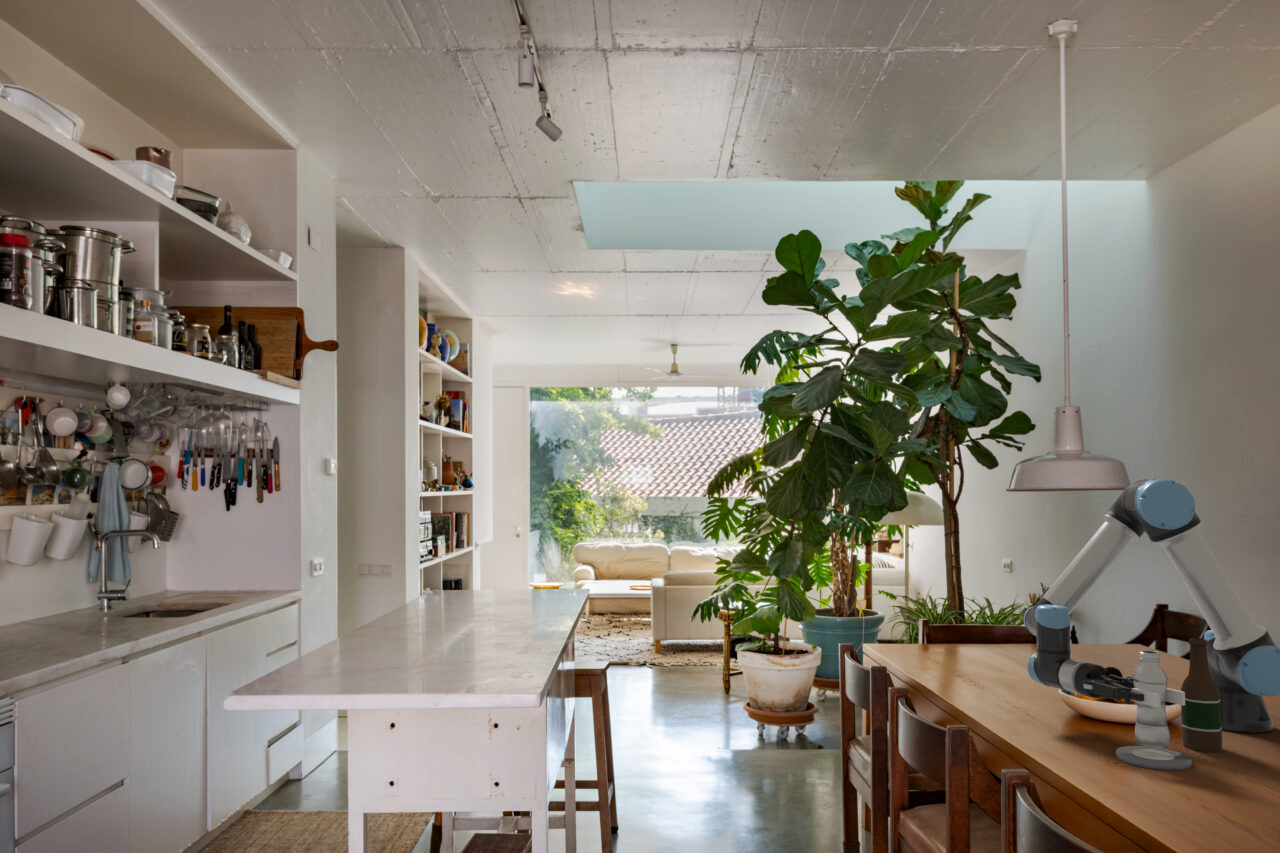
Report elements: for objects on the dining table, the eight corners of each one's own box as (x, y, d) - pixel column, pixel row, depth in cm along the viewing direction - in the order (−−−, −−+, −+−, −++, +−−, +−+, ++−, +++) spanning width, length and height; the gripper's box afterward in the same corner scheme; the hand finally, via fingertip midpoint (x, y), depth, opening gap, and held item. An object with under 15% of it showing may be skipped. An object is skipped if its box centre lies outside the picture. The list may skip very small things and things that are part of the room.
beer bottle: (1218, 745, 208) (1213, 637, 210) (1227, 754, 201) (1222, 642, 203) (1178, 742, 211) (1174, 635, 213) (1186, 750, 204) (1182, 640, 205)
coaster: (1184, 755, 200) (1184, 749, 200) (1198, 773, 187) (1197, 766, 187) (1112, 748, 205) (1112, 743, 205) (1121, 766, 192) (1120, 759, 192)
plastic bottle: (1175, 752, 192) (1172, 655, 194) (1140, 750, 194) (1137, 653, 195) (1164, 744, 199) (1161, 650, 200) (1130, 742, 200) (1127, 648, 202)
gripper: (1118, 692, 217) (1206, 714, 195) (1052, 698, 211) (1136, 721, 189) (1116, 660, 217) (1205, 678, 196) (1051, 664, 211) (1135, 684, 189)
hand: (1171, 699), depth 192 cm, fingers closed on plastic bottle, 6 cm apart
